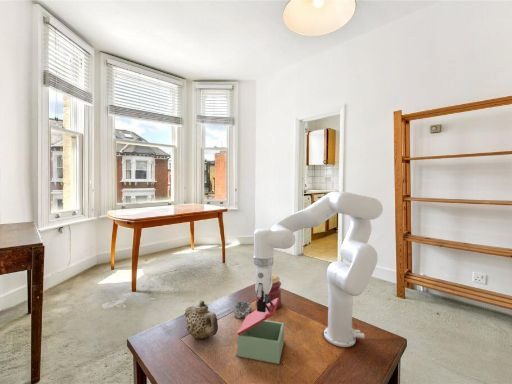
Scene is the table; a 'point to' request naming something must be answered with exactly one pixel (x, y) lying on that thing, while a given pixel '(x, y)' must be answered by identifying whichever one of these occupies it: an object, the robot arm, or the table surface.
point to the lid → (259, 315)
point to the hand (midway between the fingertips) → (263, 306)
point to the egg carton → (242, 309)
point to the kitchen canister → (275, 290)
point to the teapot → (201, 321)
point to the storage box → (262, 342)
